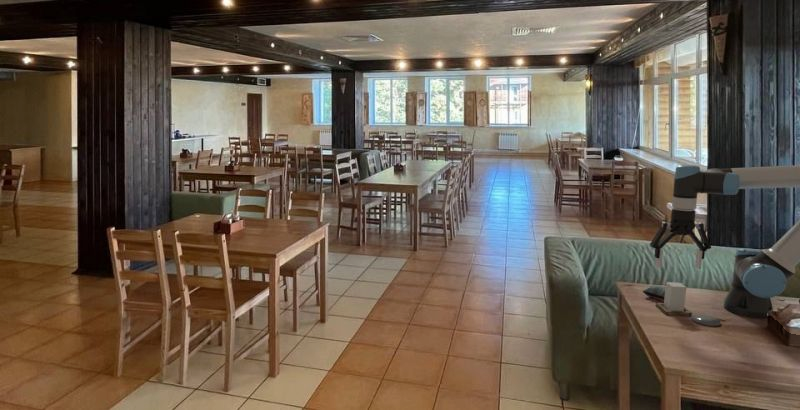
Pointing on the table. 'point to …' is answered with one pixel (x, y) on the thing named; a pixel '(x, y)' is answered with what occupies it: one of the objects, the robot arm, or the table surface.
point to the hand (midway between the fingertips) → (678, 267)
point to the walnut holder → (683, 313)
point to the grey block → (674, 296)
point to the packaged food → (655, 292)
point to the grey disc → (705, 320)
